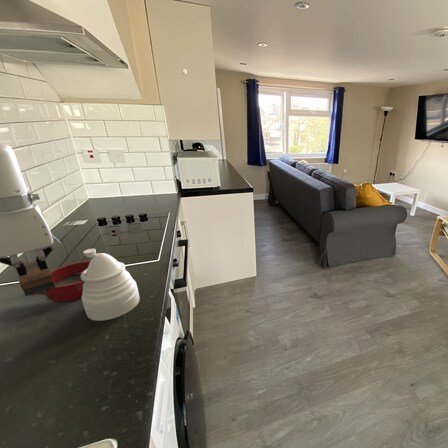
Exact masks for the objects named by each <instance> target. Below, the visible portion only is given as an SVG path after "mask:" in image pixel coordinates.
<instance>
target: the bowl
mask: <svg viewBox="0 0 448 448" xmlns="http://www.w3.org/2000/svg"><path fill="white" fill-rule="evenodd" d="M90 261H91V260H83V261H82V260H81V261H77V262H73V263H69V264H65V265H63V266H60V267H57V268H55V269H54V270H52V271H50V273H51V275H52V277H53V280H54V281H53V282H54V285H55V284H56V283H58V282H59V281H61V280H63V279H66V278H68V277H71V276H75V275H78V274H82V272H83V271H85V270H86V269H88V266H89V263H90ZM84 283H85V282H84V281H82V280H80V281H76V282H74V283H69V284H64V285H61V284H60V285H55V287H53V288H50V289H47V290H44V292H45V296H46V298H47V299H48V300H50V301H52V302H55V303H66V302H73V301H77V300H82V294H83V284H84Z"/></svg>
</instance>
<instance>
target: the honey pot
mask: <svg viewBox="0 0 448 448" xmlns="http://www.w3.org/2000/svg"><path fill="white" fill-rule="evenodd" d="M82 253H83V255H84V256H85V257H87V258H89V259H90V260H89V261H90V263H89V266H88V269H86V270H85V271H83V272H82V273H80V277H79V278H80V281H84V282H85V283H84V284H83V294H82V298H81V302H82V306H83V309H84V311H85V315H86V316H87V318H88V319H90V320H91V321H108V320H113V319H116V318H119V317H121V316H124V315H125V314H127V313H129V312H130V311H132V310H133V309H135V308H136V307H137V305H138V304H139V303H140V300H141V297H140V293H139V288H138V285H137V282H136V281H135V279H133V277H132V276H131V274H130V272H129V271H127V269H126V265H125V263H124V262H121V261H118V260H117V259H116V258H115V257H113V256H112V255H110V254H108V253H104V252H100V253H97V250H96V248H88V249H85V250H83V252H82Z"/></svg>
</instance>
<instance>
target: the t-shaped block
mask: <svg viewBox="0 0 448 448" xmlns="http://www.w3.org/2000/svg"><path fill="white" fill-rule="evenodd" d="M23 263H24V265H25V268H26V269H25V270H26V273H27V275H23V276H19V275H18V276H17V278H18V282H19V283H18V284H19V286H20V288H21V291H23V294H24V296H25V297H28V296H32V295H34V294H37V293H40V292H45V290H47V289H50V288H53V287H55V286H56V285H55V284H54V282H53V281H54V280H53V277H52V275H51V273H50V272H51V271H50V268H49V267H48V269H44V270H41V271H40V268H39V266H38V264H37V261H36V259H35V260H32V261H28V262H23Z"/></svg>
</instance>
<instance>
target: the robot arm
mask: <svg viewBox="0 0 448 448" xmlns="http://www.w3.org/2000/svg"><path fill="white" fill-rule="evenodd" d="M39 200H41V199H40V195H39V193H31V192H29V189H28V187H27V185H26V182H25V179H24V176H23V174H22V171H21V168H20V165H19V162H18V160H17V156H16V154H15V151H14V150H13V148H12V147H11V146H10V145H8V144H6V143H4V142H3V143H2V142H0V264H3V265H6V266H10V267H12V268H13V269H14V268H15V270H16V272H17V275H18V277H19V276H23V275H27V273H26V270H25V269H26V268H25V265H24V263H25V262H23V261H22V260H20V259H19V256H18V255H19V254H23V253H27V252H32V251H35V254H36V259H35V260H36V261H37V264H38V266H39V268H40V271H41V270H44V269H48V268H49V267H48V265H47V262H46V259H47V258H48V256H49V255H50V254H51V252H52V251H53V250H56V249H57V248H59V247H60V246H62V242H61V241H60V240H59V239H58V238H57V237H55V236H54V235H53V234H52V232H51V229H50V227H49V224H48V222H47V220H46V218H45V215H44V214H43V212H42V210H41V209H40V207H39V205H38V204H37V203H34V202H36V201H39Z"/></svg>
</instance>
